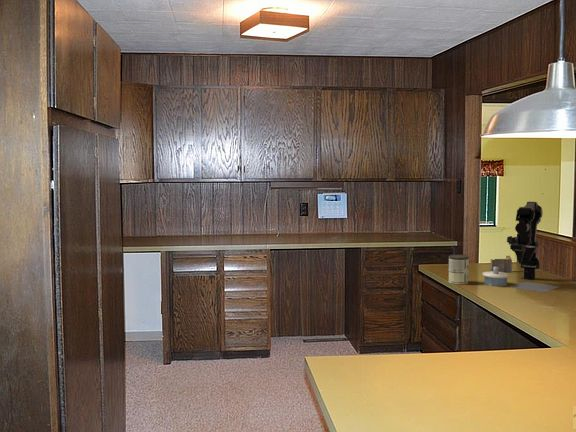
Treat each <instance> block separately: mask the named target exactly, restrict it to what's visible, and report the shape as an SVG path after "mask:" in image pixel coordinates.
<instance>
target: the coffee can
mask: <svg viewBox="0 0 576 432" xmlns="http://www.w3.org/2000/svg"><path fill="white" fill-rule="evenodd" d="M469 258H470V257H469V255H465V254H449V255H448V283H450V284H454V285H465V284H466V285H467V284H469Z"/></svg>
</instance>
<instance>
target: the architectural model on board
mask: <svg viewBox="0 0 576 432" xmlns="http://www.w3.org/2000/svg"><path fill="white" fill-rule="evenodd" d="M505 257H506V258H494V259H490V271H493V267H499V272H505V273H512V270H513V259H512V257H511V255H505Z"/></svg>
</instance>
